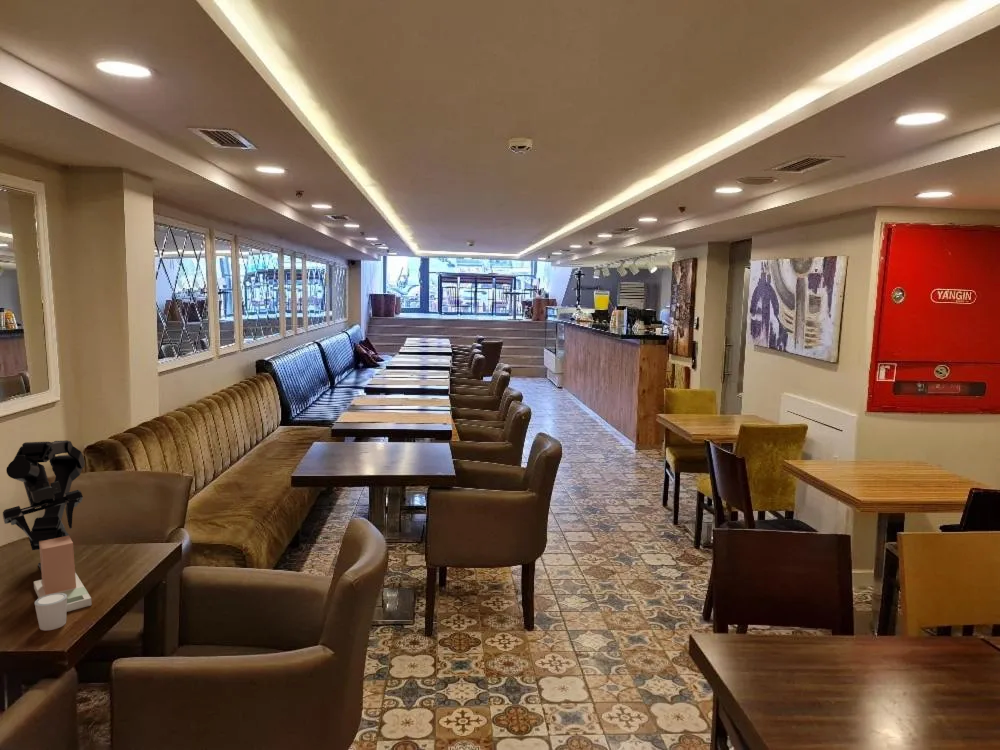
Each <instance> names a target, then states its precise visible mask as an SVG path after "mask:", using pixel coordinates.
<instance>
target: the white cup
mask: <svg viewBox="0 0 1000 750" xmlns="http://www.w3.org/2000/svg"><path fill="white" fill-rule="evenodd" d="M34 606H35V608H34V609H35V612H36V618H37V621H38V622H37V623H38V627H39V629H40V630H41V631H52V630H57V629H59V628H62V627H64V626H65V625H66V623H67V595H66V594H64V593H54V594H49V595H46V596H43V597H41V598H37V599H36V600H35V601H34Z"/></svg>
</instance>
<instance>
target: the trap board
mask: <svg viewBox="0 0 1000 750" xmlns="http://www.w3.org/2000/svg"><path fill="white" fill-rule="evenodd" d="M75 577H76V588H72V589H68V590H64V591H59V592H55V593H64V594H66V595H67V612H71V611H75V610H79V609H82V608H85V607H90V606H92V604H93V603H92V597H91V595H90V594H89V592H88V590H87V589H86V587H85V586H84V583H82V581H81V578H79V576H78V574H77V573H76V572H75ZM33 589H34V591H35V594H36V595H37V599H39V598H41V597H43V596H46V594H45V591H44V588H43V585H42V579H38V580H35V581H33ZM51 594H54V593H51ZM47 595H49V594H47Z"/></svg>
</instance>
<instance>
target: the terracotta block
mask: <svg viewBox="0 0 1000 750" xmlns="http://www.w3.org/2000/svg"><path fill="white" fill-rule="evenodd" d="M39 547H40V549H39V556H40V557H39V559H40V563H41V570H40V571H41V573H40V574H41V580H42V585H43V588H44V591H45V594H46V595H47V594H51V593H55V592H59V591H64V590H68V589H72V588H76V577H75V573H76V566H75V565H76V564H75V551H74V542H73V541H72V538H71V537H70V535H69V536H64V537H59V538H54V539H49V540H44V541H39Z"/></svg>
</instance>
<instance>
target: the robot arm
mask: <svg viewBox="0 0 1000 750" xmlns="http://www.w3.org/2000/svg"><path fill="white" fill-rule="evenodd" d="M61 454H62V455H61ZM65 454H66V455H65ZM56 455H57V456H56ZM48 461H49V464H50V466H51V468H52V469H51V470H52V471H53V474H54V476H55V478H54V481H53V482H50V481H49V479H48V475H47V472H46V468H45V465H44V464H42V463H47V462H48ZM85 464H86V463H85V458H84V455H83V452H82V451H81V450H80V449H78V448H76V447H75V446H74V445H73V443H72V441H71V440H69V439H68V440H55V441H54V440H53V441H29V442H27V441H25V442H23V443H22V444H21V446H19V448H18V450H17V452H16V454H15V456H14V458H13V460H12V461H10V462H9V464H8V466H7V467H6V469H5V470H6V474H7V475H8V477H9V478H10V479H13V480H16V481H19V482H23V486H24V488H25V491H26V492H25V493H26V495H27V499H28V501H29V506H27V507H23V508H21V506H20V505H18V506H13V507H10V508H5V509H3V511H2V519H3V522H4V524H7V525H8V524H10V525H11V526H14V525H16V526H17V527H18V528H19V529H21V530H22V531H23V532H24V534H26V536H27V537H28V540H29V544H30V546H31V547H30V548H31V550H32V551H36V550H39V551H40V547H39V541H44V540H49V539H54V538H59V537H64V536H70V534H69V533H68V531H66V527H65V525H64V524H63V521H62V519H63V516H64V515H63V514H64V511H65V513H66V520H67V523H68V524H67V525H68V528H69V529H70V530H72V528H73V515H74V509H75V508H76V507H78V505H79V504H81V503H82V501H83V499H84V497H83V494H82V491H81V490H79V489H75V490H72V491H70V490H71V486H72V483H73V482H74V481H75V480H76V479H77V478H78V477H79V476H80V475H81V474H82V470H83V469H84V467H85ZM43 510H45V511H44V514H43V515H42V516H41V517H40V516H39V517H35V519H34V522H33V525H32V527H31V529H30V527H29V524H28V522H27V520H26V517H25V515H29V514H32V513H37V512H39V511H43ZM37 565H38V568H39V569H40V570H39V571H41V562H38V564H37Z"/></svg>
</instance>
